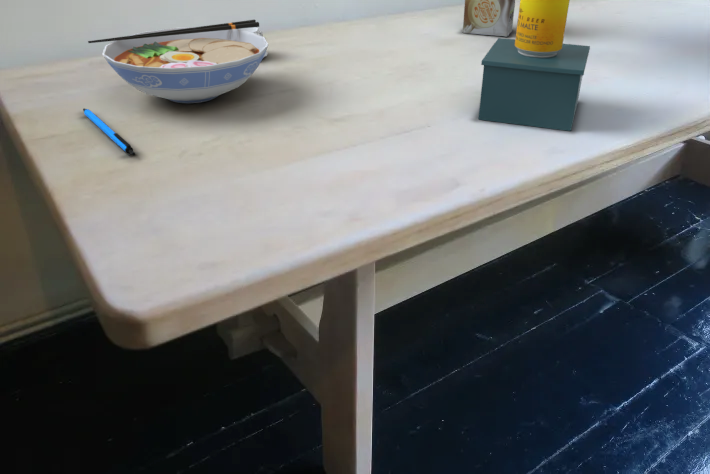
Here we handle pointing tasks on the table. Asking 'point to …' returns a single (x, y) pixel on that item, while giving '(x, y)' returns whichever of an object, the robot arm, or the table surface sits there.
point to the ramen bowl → (187, 60)
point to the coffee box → (488, 17)
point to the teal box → (532, 86)
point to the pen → (109, 132)
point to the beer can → (541, 27)
